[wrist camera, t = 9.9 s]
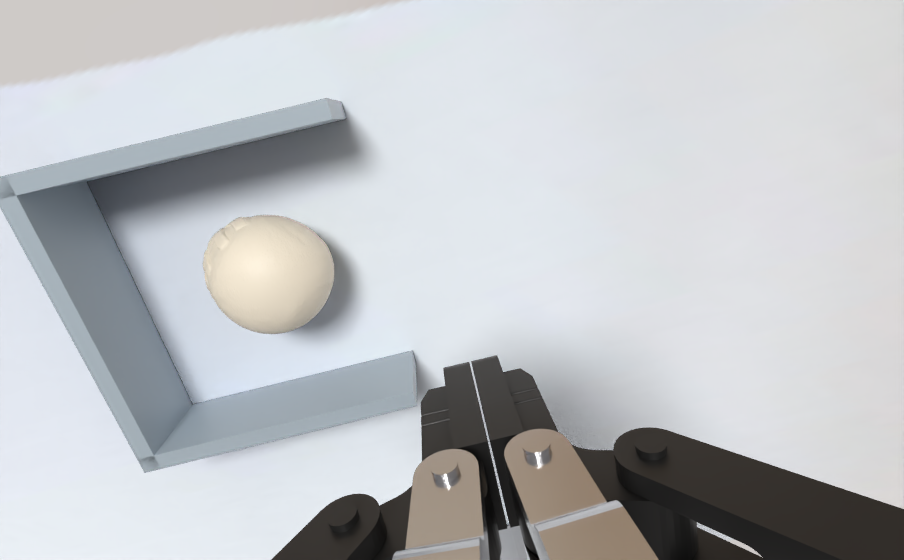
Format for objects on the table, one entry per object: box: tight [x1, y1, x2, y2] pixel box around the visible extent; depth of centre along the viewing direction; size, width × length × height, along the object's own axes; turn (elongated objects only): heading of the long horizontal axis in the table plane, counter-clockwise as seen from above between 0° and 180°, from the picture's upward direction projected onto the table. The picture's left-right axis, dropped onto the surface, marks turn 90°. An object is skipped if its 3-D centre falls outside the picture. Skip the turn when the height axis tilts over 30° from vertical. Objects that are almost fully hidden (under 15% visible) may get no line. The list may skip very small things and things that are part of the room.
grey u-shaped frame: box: [0, 98, 417, 473], centre depth 29 cm, size 17×18×6 cm
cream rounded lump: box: [203, 215, 334, 334], centre depth 28 cm, size 7×7×7 cm
